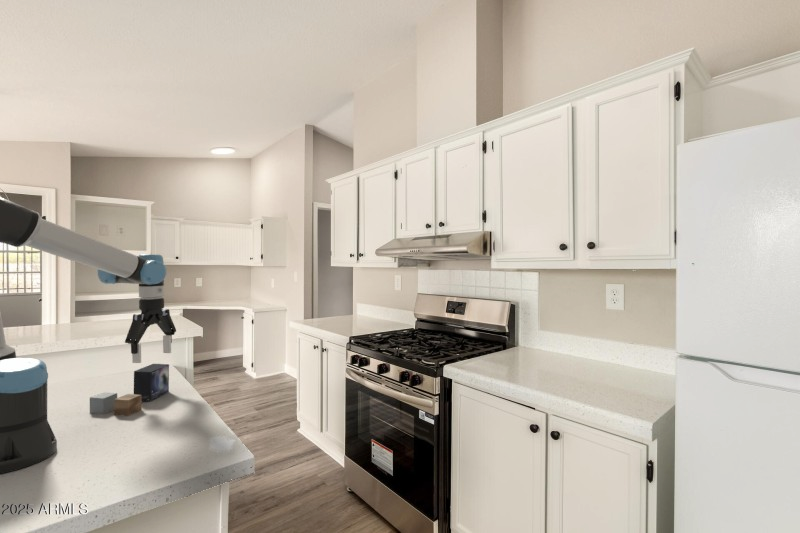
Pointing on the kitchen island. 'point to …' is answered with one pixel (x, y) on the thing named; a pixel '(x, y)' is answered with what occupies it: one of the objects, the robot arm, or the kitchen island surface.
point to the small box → (151, 381)
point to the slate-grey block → (102, 403)
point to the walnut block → (127, 404)
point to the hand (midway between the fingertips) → (152, 357)
